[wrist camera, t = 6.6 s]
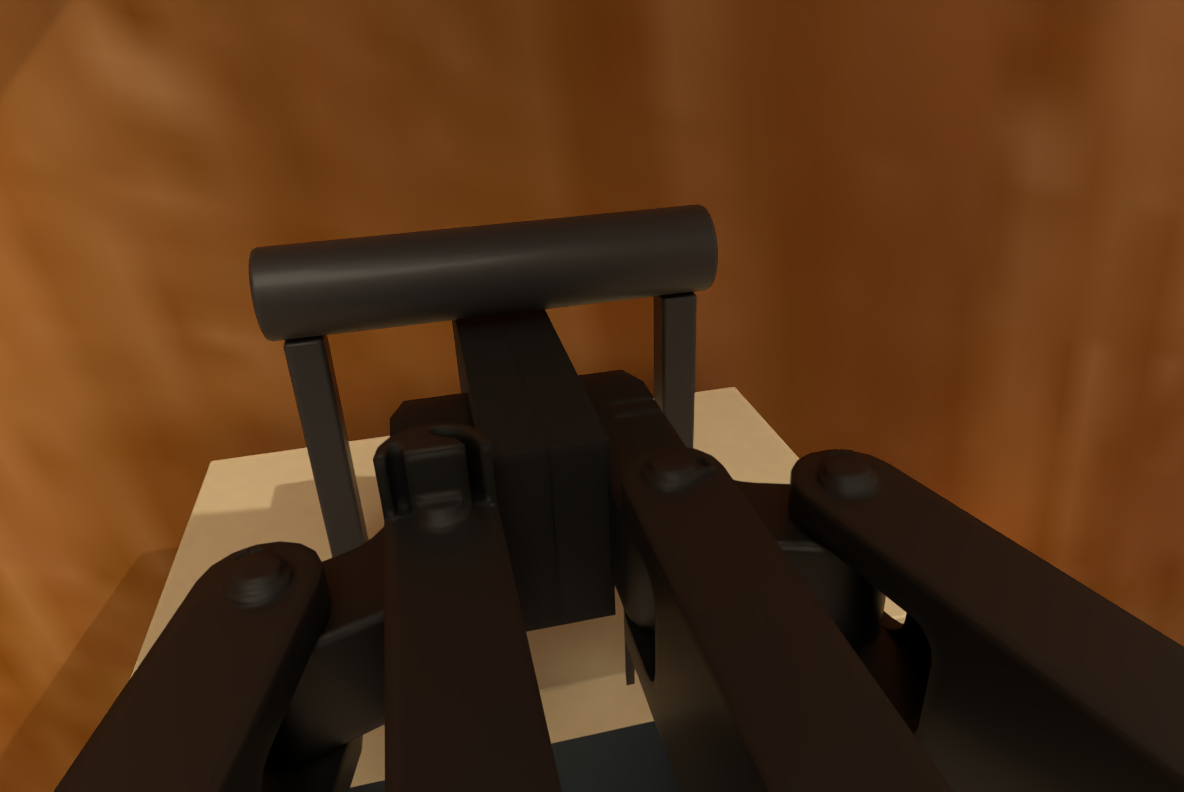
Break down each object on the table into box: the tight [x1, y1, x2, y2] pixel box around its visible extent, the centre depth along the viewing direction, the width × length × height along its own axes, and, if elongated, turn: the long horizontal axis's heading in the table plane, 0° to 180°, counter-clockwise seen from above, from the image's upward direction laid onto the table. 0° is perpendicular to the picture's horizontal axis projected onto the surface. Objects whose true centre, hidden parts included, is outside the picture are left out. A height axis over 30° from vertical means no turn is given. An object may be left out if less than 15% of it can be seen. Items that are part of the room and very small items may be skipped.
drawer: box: [130, 205, 906, 792], centre depth 18 cm, size 23×13×9 cm, turn 2°
